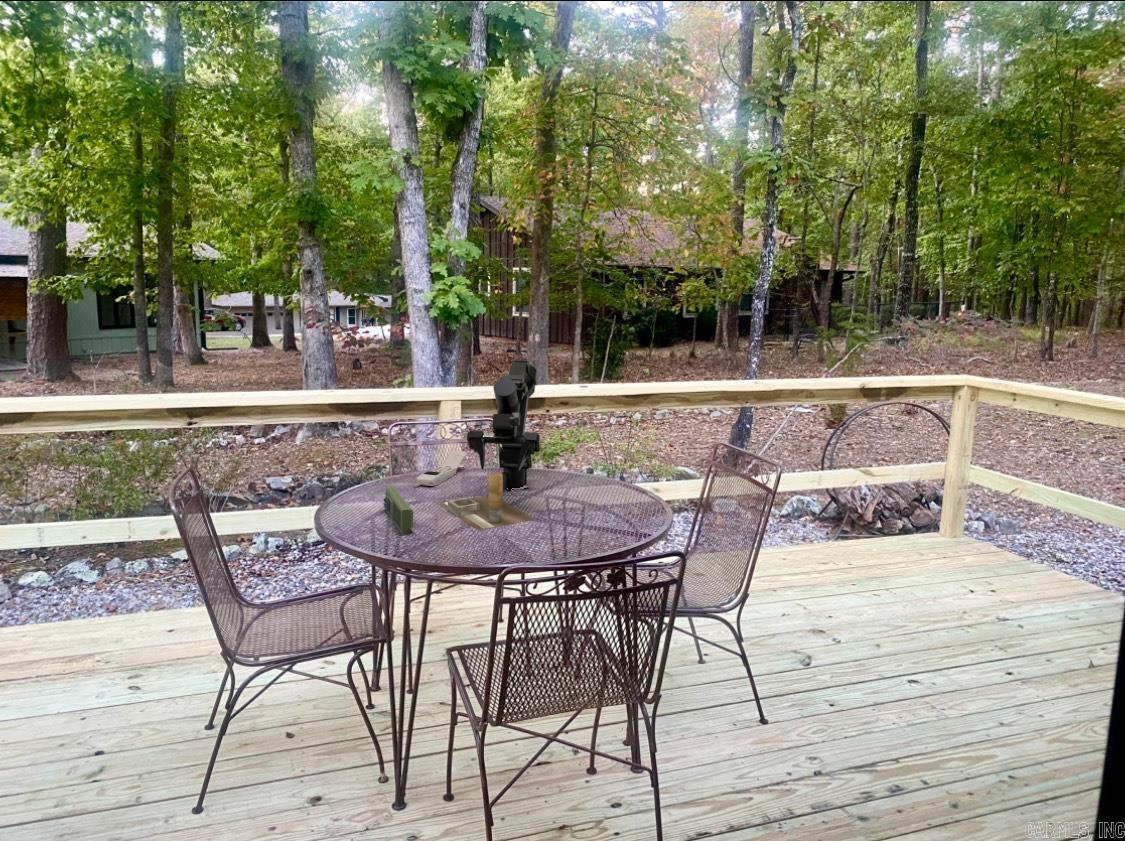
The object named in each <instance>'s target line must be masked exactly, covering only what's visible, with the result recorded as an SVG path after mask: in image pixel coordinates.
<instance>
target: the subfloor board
mask: <svg viewBox="0 0 1125 841" xmlns="http://www.w3.org/2000/svg"><path fill="white" fill-rule="evenodd" d="M438 505H439V506H440V507H441V508H443V509H445V510H446V511H448V512H450V513H451V514H453V515H454V516H456V518H458V519H460V520H462V521H463V522H464V523H466V524H467V525H469V526H470V527H472V528H473V529H474V530H477V531H478V532H479V531H485V530H489V529H495V528H499V527H505V526H509V525H514V524H515V525H516V524H520V523H525V522H530V521H535V520H536V518H533V517H532V516H530V515H528V514H527V513H526V512H523V511H522V510H520V509H518V508H516V507H515V506H512V505H511V504H509V503H507V502H505V501H504V500H502V507H501V522H500V523H496V524H494V523H490V507H489V494H488V495H481V496H477V497H476V496H475V497H463V498H458V499H452V500H447V501H446V502H442V503H441V502H439V503H438Z"/></svg>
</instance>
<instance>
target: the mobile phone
mask: <svg viewBox="0 0 1125 841" xmlns="http://www.w3.org/2000/svg"><path fill="white" fill-rule="evenodd" d="M467 453H468V451H462V450H450V451H449V452H448V453H447V456H446V458H445V460H443V462H442V464H441V465H439V466H438V467H435V468H434V469H431V470H428V471H425V472H423V473H421V474H420V475H418V476H417V477H416V483H415V484H414V485H413V488H417V487H420V486H426V487H427V486H429V487H434V486H439V485H440V484H441V482H442V483H443V482H446V481H447V480H449V479H451V478H452V477H454V476H455V475H456V474H457V470H458V469H459V467H460V465H461V464H462V462H463V460H464V458H465V457H466V455H467ZM454 474H455V475H454ZM453 475H454V476H453ZM450 477H451V478H450ZM448 478H449V479H448Z"/></svg>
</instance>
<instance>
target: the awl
mask: <svg viewBox="0 0 1125 841" xmlns="http://www.w3.org/2000/svg"><path fill="white" fill-rule="evenodd" d="M503 489H504V487H503V475H502V473H499V472H492V473H489V474H488V495H489V507H490V523H494V524H496V523H500V522H501V507H502V501H503Z"/></svg>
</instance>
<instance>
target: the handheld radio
mask: <svg viewBox="0 0 1125 841" xmlns="http://www.w3.org/2000/svg"><path fill="white" fill-rule="evenodd" d="M383 502H384V503H385V512H386V513H387V514H388V517H389V518H390V519H391V520H392V522H393V523H394V525H395V526H396V528H397V529H398V531H399V533H400V534H401V535H402V536H407V535H411V534H412V533H413V530H412V529H411V528H413V527H414V510H413V509H412V508H411V506H410V505H409V504H408V503H407V501H406V500H405V499H404V497H403V496H402V495H401V493H400V492H399V490H398V489H397V488H396V487H395V486H393V485H387V487H386V488H385V498H383Z"/></svg>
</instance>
